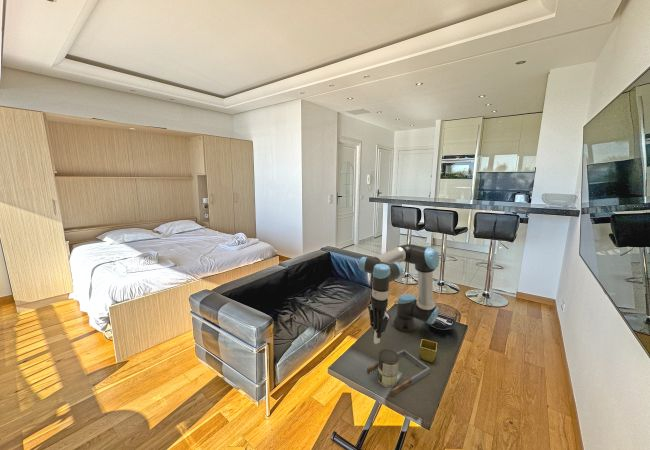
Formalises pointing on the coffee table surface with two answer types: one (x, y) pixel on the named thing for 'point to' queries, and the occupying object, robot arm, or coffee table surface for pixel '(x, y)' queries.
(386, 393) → the coffee table surface
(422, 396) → the coffee table surface
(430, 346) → the flower pot
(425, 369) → the grey piece
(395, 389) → the slot rails
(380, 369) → the coffee can
